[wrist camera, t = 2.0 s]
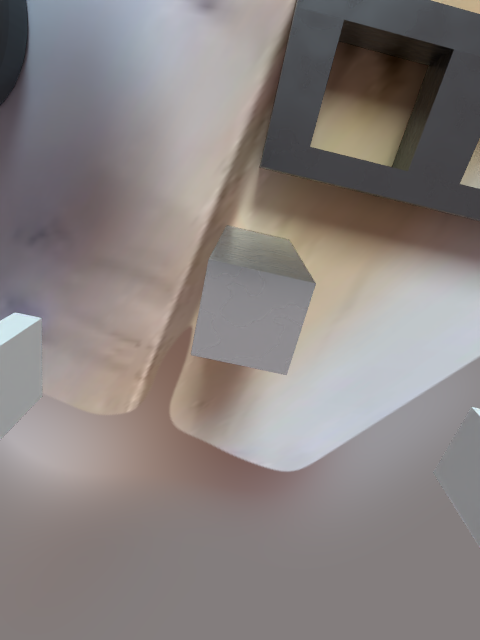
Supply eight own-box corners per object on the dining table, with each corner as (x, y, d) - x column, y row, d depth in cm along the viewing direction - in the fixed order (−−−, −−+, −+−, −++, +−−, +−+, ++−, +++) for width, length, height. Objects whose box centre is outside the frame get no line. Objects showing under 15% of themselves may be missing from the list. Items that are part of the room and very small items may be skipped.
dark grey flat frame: (259, 167, 25) (260, 166, 22) (298, -7, 21) (305, -35, 18) (541, 236, 26) (575, 242, 23) (626, 83, 22) (679, 69, 19)
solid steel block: (214, 285, 28) (190, 354, 17) (226, 225, 27) (208, 259, 15) (273, 298, 29) (286, 375, 18) (289, 239, 27) (315, 283, 16)
